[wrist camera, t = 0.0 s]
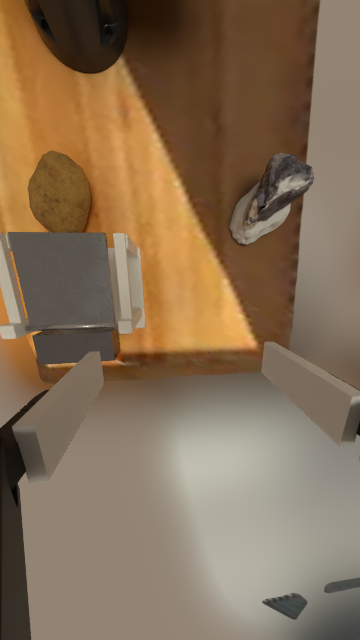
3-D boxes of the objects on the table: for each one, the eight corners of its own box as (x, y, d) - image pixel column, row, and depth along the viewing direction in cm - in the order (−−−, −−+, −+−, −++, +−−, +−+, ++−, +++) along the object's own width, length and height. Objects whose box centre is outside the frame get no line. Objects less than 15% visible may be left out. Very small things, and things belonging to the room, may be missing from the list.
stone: (246, 258, 41) (246, 232, 27) (221, 229, 43) (209, 190, 29) (301, 214, 36) (336, 155, 23) (271, 183, 38) (286, 110, 24)
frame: (42, 248, 35) (-34, 228, 21) (140, 248, 37) (126, 229, 23) (58, 330, 39) (3, 357, 26) (145, 327, 41) (136, 350, 27)
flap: (21, 237, 26) (-3, 230, 23) (115, 238, 28) (108, 231, 24) (47, 354, 31) (31, 365, 27) (126, 350, 33) (121, 359, 29)
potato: (38, 225, 34) (8, 212, 27) (57, 159, 32) (29, 127, 25) (84, 246, 36) (66, 239, 29) (105, 185, 34) (90, 162, 27)
